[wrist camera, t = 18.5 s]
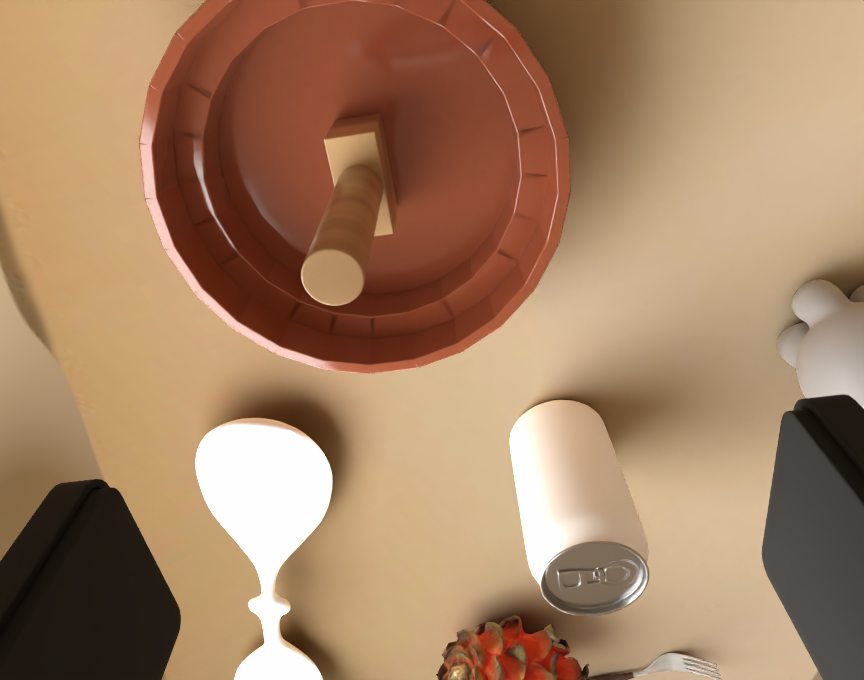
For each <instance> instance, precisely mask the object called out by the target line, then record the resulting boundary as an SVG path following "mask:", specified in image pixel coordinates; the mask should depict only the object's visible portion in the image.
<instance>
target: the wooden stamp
mask: <svg viewBox="0 0 864 680" xmlns="http://www.w3.org/2000/svg"><path fill="white" fill-rule="evenodd" d="M324 143H325V147H326V152H327V156H328V161H329V165H330V170H331V174H332V179H333V183H334V190H333V193H332V195H331V198H330V200H329V202H328V205H327V207H326V210H325V212H324V215H323V217H322V219H321V222H320V224H319V227H318V229H317V231H316V234H315V236H314V239H313V241H312V244H311V246H310V248H309V251H308V253H307V256H306V258H305V261H304V263H303V265H302V269H301V280H302V283H303V286H304V288H305V290H306V291H307V292H308V294H309V295H310V296H311V297H312V298H314V299H315V300H317V301H318V302H320V303H323V304H326V305H331V306H338V305H344V304H347V303H349V302H351V301H353V300H354V299H355V298H357V297H358V295H359V294H360V293H361V291H362V289H363V287H364V283H365V278H366V273H367V268H368V263H369V259H370V254H371V249H372V244H373V239H374V236H381V235H388V234H393V233H394V228H395V220H396V213H397V201H396V196H395V190H394V184H393V179H392V173H391V167H390V162H389V156H388V151H387V145H386V139H385V134H384V128H383V123H382V117H381V114H380V113H378V114H372V115H365V116H358V117H352V118H345V119H338V120H335V121H334V123H333V124H332V126H331V128H330V130H329V131H328V133H327V135H326V137H325V138H324Z"/></svg>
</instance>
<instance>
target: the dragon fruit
mask: <svg viewBox="0 0 864 680" xmlns="http://www.w3.org/2000/svg"><path fill="white" fill-rule="evenodd" d="M506 623H507V624H506ZM505 624H506V626H505ZM504 626H505V627H504ZM503 627H504V628H503ZM552 627H553V626H552V625H551V624H549V625H548V626H547V627H545V628H544V630H541V631H538V632H535V633H533V634H527V633H525V632H524V631H523V629H522V622H521V619H520V617H519V616H515V615H512V616H511V617H509V618H505V619H503V620H502V621H501V623H500V624H499V625H498V624H497V623H494V622H486V623H484V624H480V625H479V626H478V628H477V629H476V630H474V632H472V631H469V630H461V631H459V632H457V636H458V640H457V641H455V642H451V643H448V645H447V647H446V649H444V652H443V654H442V656H443V657H444V663H443V664H442V665H441V667H440V669H439V671H438V674H436V675H437V676H438V679H439V680H585V679H586V678H587V676H588V674H589V669H588V666H589V664H588V665H587V664H586V665H585V667H584V669H583V671H582V670H581V667H580V665H579V663H578V661H577V660H576V659H575V658H573V657H569V658H565V657H564V656H565V655H567V654H569V653H570V651H571V650H570V647H569V646H568V644H567V642H566V641H565V640H562V639H559V638H558V637H557V635H555V630H554V629H552ZM502 628H503V629H502ZM553 641H554V642H557V643H560V644H562V645H564V646H565V647H566V649H561V648H557V647H554V646H552V645H553ZM586 675H587V676H586Z"/></svg>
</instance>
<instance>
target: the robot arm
mask: <svg viewBox="0 0 864 680" xmlns="http://www.w3.org/2000/svg"><path fill="white" fill-rule="evenodd" d="M762 559H763V564H764V567H765V571H766V573H767V576H768V578H769V580H770V582H771V583H772V585H773V587H774V589H775V591H776V593H777V595H778V596H779V598H780V600H781V602H782V604H783V606H784V608H785V610H786V611H787V613H788V615H789V617H790V619H791V621H792V623H793V624H794V626H795V628H796V630H797V632H798V634H799V636H800V638H801V639H802V641H803V643H804V645H805V647H806V649H807V651H808V652H809V654H810V656H811V658H812V660H813V662H814V664H815V665H816V667H817V669H818V671H819V673H820V675H821V677H822V678H823V680H864V409H863V408H862V407H861V406H860V405H859V403H858V402H857V401H856V400H855V399H853V398H852V397H851V396H849V395H845V394H840V395H832V396H823V397H814V398H805V399H801V400H798V401H797V403H796V404H795V407H794V410H793V411H788V412H785V413H784V415H783V417H782V420H781V427H780V433H779V440H778V447H777V453H776V460H775V466H774V473H773V480H772V486H771V493H770V499H769V506H768V513H767V519H766V526H765V533H764V539H763V546H762ZM180 624H181V615H180V609H179V607H178V604H177V602H176V600H175V598H174V596H173V595H172V593H171V591H170V589H169V587H168V585H167V583H166V581H165V579H164V577H163V575H162V573H161V571H160V569H159V567H158V565H157V563H156V561H155V559H154V558H153V556H152V554H151V552H150V550H149V548H148V546H147V544H146V542H145V540H144V538H143V536H142V534H141V532H140V530H139V528H138V526H137V524H136V522H135V521H134V519H133V517H132V515H131V513H130V511H129V509H128V507H127V505H126V503H125V501H124V499H123V497H122V495H121V494H120V492H119V491H118V490H117V489H115V488H110V487H109V486H108V484H107V483H106V482H104V481H103V480H100V479H94V480H85V481H77V482H68V483H61V484H58V485H56V486H55V487H54V488H53V489H52V490H51V491H50V492H49V493H48V495H47V496H46V498H45V499H44V501H43V502H42V504H41V505H40V506H39V508H38V509H37V510H36V512H35V513H34V515H33V516H32V518H31V519H30V520H29V522H28V523H27V525H26V526H25V527H24V529H23V530H22V532H21V533H20V535H19V536H18V537H17V539H16V540H15V542H14V543H13V544H12V546H11V547H10V549H9V550H8V551H7V553H6V554H5V556H4V557H3V559H2V560H1V561H0V680H161V679H162V677H163V674H164V671H165V669H166V666H167V663H168V661H169V658H170V655H171V653H172V650H173V647H174V644H175V642H176V639H177V636H178V633H179V630H180Z"/></svg>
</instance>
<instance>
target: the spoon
mask: <svg viewBox="0 0 864 680" xmlns="http://www.w3.org/2000/svg"><path fill="white" fill-rule="evenodd" d="M195 462H196V473H197V477H198V481H199V484H200V487H201V490H202V493H203V496H204V498H205V501H206V503H207V505H208V507H209V508H210V510H211V512H212V513H213V515H214V516H215V517H216V519H217V520H218V521H219V522H220V524H221V525H222V526H223V527H224V528H225V529H226V530H227V532H228V533H229V534H230V535H231V536H232V537H233V538H234V540H235V541H236V542H237V543H238V544H239V546H240V547H241V548H242V549H243V550H244V552H245V553H246V554H247V555H248V557H249V558H250V559H251V561H252V562H253V564H254V565H255V567H256V569H257V572H258V574H259V578H260V582H261V588H262V594H261V595H260V596H258V597H255V598H253V599H251V600H250V601H249V609H250V610H251V611H252V612H254V613H256V614H257V615H258V616H259V617H260V619H261V622H262V626H263V633H264V640H265V643H264V644H263V645H262V646H261V647H259V648H258V649H256V650H255V651H254V652H253V653H251V654H250V655H249V656H248V657H247V658H246V659H245V660H244V661H243V662H242V663H241V665H240V666H239V668H238V670H237V672H236V676H235V679H234V680H323V679H322V676H321V673H320V672H319V670H318V668H317V667H316V665H315V664H314V662H313V661H312V660H311V659H310V658H309V657H308V656H307V655H306V654H304V653H303V652H302V651H300V650H299V649H298V648H296V647H295V646H293V645H292V644H290V643H288V642H287V641H285V640H284V639H283V638H282V636H281V632H280V618H281V616H282V615H284V614H286V613H288V612H289V611H290V608H291V606H290V602H289V601H288V600H286V599H284V598H282V597H280V596H279V595H278V594H277V593H276V590H275V582H276V578H277V574H278V572H279V569H280V567H281V566H282V564H283V563H284V562H285V560H286V559H287V558H288V557H289V556H290V555H291V554H292V553H293V552H294V551H295V550H296V549H297V548H298V547H299V545H300V544H301V543H302V542H303V541H304V540H305V539H306V538H307V537H308V536H309V535H310V534H311V533H312V532H313V531H314V529H315V528H316V527H317V526H318V524H319V523H320V522H321V520H322V518H323V517H324V515H325V513H326V511H327V508H328V505H329V502H330V497H331V492H332V472H331V468H330V465H329V462H328V460H327V458H326V456H325V455H324V453H323V452H322V450H321V449H320V448H319V446H318V445H317V444H316V443H315V442H314V441H313V440H312V439H311V438H310V437H309V436H307V435H306V434H305V433H303V432H302V431H300V430H299V429H297V428H295V427H293V426H290V425H288V424H286V423H283V422H280V421H276V420H272V419H265V418H244V419H238V420H234V421H230V422H227V423H224V424H222V425H220V426H218V427H216V428H215V429H213V430H212V431H210V432H209V433H208V434H207V435H206V436H205V437H204V439H203V440H202V442H201V443H200V445H199V448H198V451H197V454H196V461H195Z"/></svg>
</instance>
